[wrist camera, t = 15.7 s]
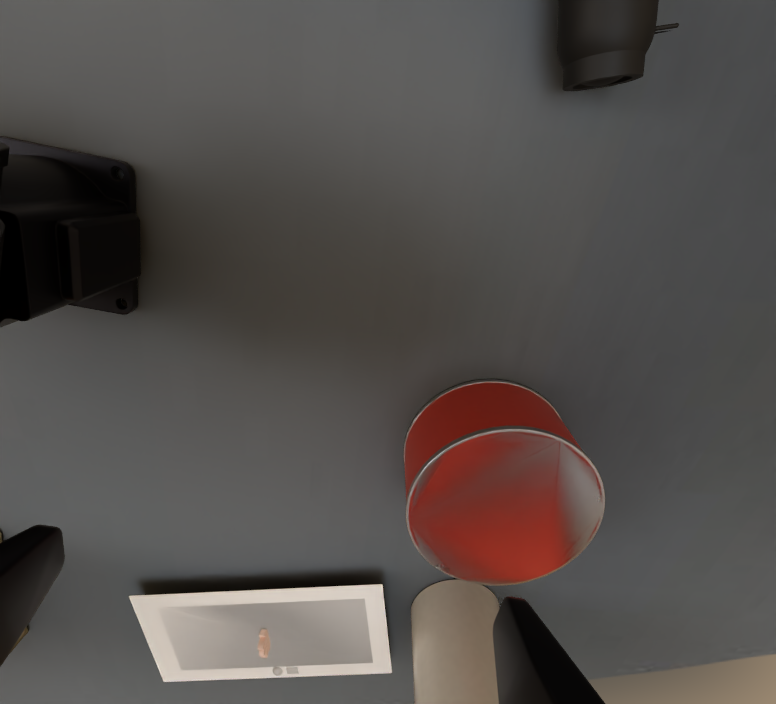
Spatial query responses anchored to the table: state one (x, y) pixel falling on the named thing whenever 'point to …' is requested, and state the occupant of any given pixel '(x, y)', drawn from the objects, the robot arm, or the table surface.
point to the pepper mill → (454, 644)
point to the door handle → (604, 41)
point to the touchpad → (266, 632)
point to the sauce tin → (498, 485)
